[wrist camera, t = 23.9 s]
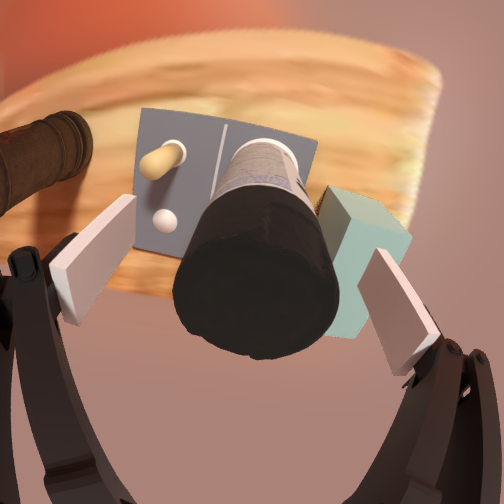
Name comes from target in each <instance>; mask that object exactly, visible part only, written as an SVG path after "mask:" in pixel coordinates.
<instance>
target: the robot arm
mask: <svg viewBox="0 0 504 504" xmlns="http://www.w3.org/2000/svg"><path fill="white" fill-rule="evenodd" d="M136 199H137V196H134V195H128V194H123V195H122V196H120V197H119V198H118V199H117V200H116V201H114V202H113V203H112V204H111V205H110V206H109V207H108V208H106V209H105V210H104V211H103V212H102V213H101V214H100V215H99V216H97V217H96V218H95V219H94V220H93V221H92V222H91V223H90V224H89V225H88V226H87V227H85V228H84V229H83V230H82V231H81V232H80V233H73V234H71V235H69V236H67V237H65V238H64V239H63V240H62V241H61V242H60V243H59V245H57V246H56V247H55V248H54V249H53V250H52V251H51V252H50V253H49V254H48V255H47V256H46V257H45V258H44V259H43V260H42V261H41V260H40V256H39V252H38V249H36V248H35V247H31V246H24V247H21V248H18V249H16V250H15V251H13V252H12V253H11V254H10V255H9V257H8V260H7V261H8V264H9V268H10V271H11V274H12V276H2V274H1V270H0V504H20V497H19V491H18V484H17V479H16V473H15V466H14V458H13V449H12V438H11V382H12V369H13V368H12V367H13V359H14V350H16V358H17V365H18V372H19V378H20V384H21V389H22V394H23V399H24V403H25V407H26V411H27V415H28V419H29V423H30V426H31V430H32V433H33V436H34V439H35V443H36V446H37V449H38V451H39V454H40V457H41V460H42V462H43V465H44V468H45V473H46V474H45V476H44V485H45V488H46V491H47V493H48V496H49V498H50V500H51V502H52V504H137V503H136V502H135V501H134V499H133V498H132V496H131V495H130V493H129V492H128V490H127V489H126V488H125V487H124V485H123V484H122V482H121V481H120V480H119V478H118V476H117V475H116V473H115V471H114V470H113V468H112V466H111V464H110V463H109V461H108V459H107V457H106V455H105V453H104V451H103V449H102V447H101V445H100V443H99V441H98V439H97V437H96V435H95V432H94V430H93V428H92V426H91V424H90V421H89V419H88V416H87V414H86V412H85V409H84V407H83V404H82V401H81V399H80V396H79V393H78V390H77V388H76V385H75V382H74V379H73V376H72V373H71V369H70V366H69V363H68V359H67V356H66V352H65V349H64V345H63V341H62V337H61V333H60V328H59V324H58V321H57V316H58V315H59V313H60V312H62V316H63V319H64V321H65V322H68V323H70V324H73V325H76V326H79V327H80V325H81V324H82V322H83V320H84V319H85V317H86V315H87V314H88V312H89V310H90V309H91V307H92V305H93V304H94V302H95V301H96V299H97V297H98V296H99V294H100V292H101V291H102V290H103V288H104V287H105V285H106V284H107V282H108V280H109V279H110V277H111V276H112V274H113V273H114V272H115V270H116V269H117V267H118V266H119V264H120V263H121V261H122V260H123V258H124V257H125V256H126V254H127V253H128V251H129V250H130V249H131V247H132V246H133V244H134V243H135V225H136ZM357 287H358V289H359V292H360V294H361V296H362V298H363V301H364V303H365V305H366V308H367V310H368V312H369V315H370V317H371V319H372V322H373V324H374V327H375V329H376V332H377V334H378V337H379V339H380V341H381V344H382V347H383V349H384V352H385V355H386V357H387V360H388V363H389V366H390V368H391V371H392V374H393V376H403V375H406V374H407V373H408V372H409V371H410V370H411V369H412V368H413V367H414V370H415V374H414V375H413V376H412V377H411V378H410V379H409V380H408V381H407V382H406V383H405V384H404V385H403V386H402V388H404V387H405V386H408V387H407V389H406V392H405V395H404V398H403V400H402V403H401V405H400V408H399V410H398V412H397V415H396V417H395V419H394V422H393V424H392V426H391V428H390V430H389V432H388V434H387V436H386V439H385V440H384V443H383V444H382V446H381V448H380V450H379V452H378V454H377V456H376V458H375V459H374V461H373V463H372V465H371V467H370V468H369V470H368V472H367V474H366V475H365V477H364V479H363V480H362V482H361V483H360V485H359V487H358V488H357V490H356V491H355V492H354V494H353V495H352V496H350V497H349V498H348V499H347V500H345V501H344V502H343V503H342V504H499V503H500V493H501V475H502V473H501V472H502V452H501V434H500V422H499V413H498V406H497V399H496V393H495V387H494V382H493V377H492V372H491V368H490V364H489V361H488V358H487V357H486V354H484V352H483V351H481V350H479V349H474V350H473V351H472V352H471V353H470V355H469V356H468V355H465V354H463V352H462V350H461V348H460V346H459V345H458V344H457V343H456V342H455V341H453V340H451V339H448V338H447V339H445V338H444V336H443V335H442V333H441V331H440V330H439V328H438V326H437V324H436V322H435V321H433V317H432V316H431V315H430V312H429V311H428V309H427V307H426V306H425V305H424V304H423V303H422V302H421V300H420V299H419V297H418V296H417V294H416V292H415V291H414V289H413V288H412V286H411V285H410V283H409V282H408V280H407V279H406V277H405V276H404V274H403V273H402V271H401V270H400V269H399V267H398V265H397V264H396V263H395V261H394V260H393V258H392V257H391V255H390V254H389V253H388V251H387V250H384V249H381V248H377V247H376V248H375V251H374V253H373V255H372V257H371V259H370V261H369V263H368V265H367V267H366V269H365V271H364V273H363V275H362V277H361V279H360V281H359V283H358V285H357ZM469 387H470V389H471V390H470V393H469V394H467V395H466V396H465V397H463V393H464V392H465V391H466V390H467V389H468V388H469Z"/></svg>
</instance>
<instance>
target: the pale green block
mask: <svg viewBox="0 0 504 504" xmlns="http://www.w3.org/2000/svg"><path fill="white" fill-rule="evenodd" d="M317 219H318V222H319V224H320V226H321V230H322V233H323V237H324V239H325V242H326V245H327V248H328V252H329V255H330V257H331V260H332V263H333V266H334V269H335V273H336V276H337V279H338V282H339V289H340V300H339V308H338V311H337V314H336V317H335V319H334V321H333V323H332V325H331V326H330V327H329V329H328V330H327V331H326V332H325V333H324V335H327V336H335V337H343V338H352V339H355V338H356V336H357V335H358V333H359V331H360V330H361V329H362V327H363V326H364V324H365V322H366V321H367V319H368V318H369V316H370V315H369V312H368V310H367V308H366V305H365V303H364V301H363V298H362V296H361V294H360V292H359V289H358V287H357V285H358V283H359V281H360V279H361V277H362V275H363V273H364V271H365V269H366V267H367V265H368V263H369V261H370V259H371V257H372V255H373V253H374V251H375V248H376V247H377V248H381V249H384V250H387V251H388V253H389V254H390V255H391V257H392V258H393V260H394V261H395V263H396V264H397V265H398V266H399V264H400V262H401V260H402V258H403V256H404V254H405V252H406V250H407V248H408V246H409V244H410V242H411V240H412V238H413V237H412V236H411V234H410V233H409V232H408V231H407V230H406V229H405V228H404V227H403V226H402V225H401V224H400V223H399V221H398V220H397V219H396V218H395V217H394V216H393V215H392V214H391V213H390V212H389V211H388V210H387V209H386V208H385V207H384V206H383V205H382V204H381V203H380V202H379V201H377V200H374V199H371V198H368V197H365V196H362V195H359V194H355V193H352V192H349V191H346V190H343V189H339V188H336V187H333V186H329V185H328V187H327V190H326V193H325V196H324V199H323V202H322V205H321V208H320V210H319V213H318V216H317Z"/></svg>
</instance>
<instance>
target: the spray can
mask: <svg viewBox="0 0 504 504" xmlns="http://www.w3.org/2000/svg"><path fill="white" fill-rule="evenodd" d="M172 293H173V299H174V306H175V309H176V312H177V314H178V316H179V318H180V320H181V323H182V324H183V325H184V326H185V328H186V329H187V331H188V332H189V333H191V334H193V335H197V336H201V337H203V338H204V339H205V340H206V341H207V342H209V343H211V344H213V345H215V346H216V347H218V348H220V349H223V350H227V351H230V352H233V353H236V354H239V355H249V356H250V358H252V359H255V360H264V359H271V360H272V359H277V358H280V357H284V356H288V355H291V354H293V353H296V352H299V351H301V350H303V349H305V348H307V347H309V346H310V345H312V344H313V343H314V342H316V341H317V340H318V339H319V338H321V337H322V336H323V335H324V333H325V332H326V331H327V330H328V329H329V327H330V326H331V325H332V323H333V321H334V319H335V317H336V314H337V311H338V308H339V300H340V289H339V282H338V279H337V276H336V273H335V269H334V266H333V263H332V260H331V257H330V255H329V252H328V248H327V245H326V242H325V239H324V237H323V233H322V230H321V226H320V224H319V222H318V219H317V216H316V214H315V212H314V209H313V207H312V203H311V200H310V199H309V197H308V195H307V192H306V190H305V188H304V185H303V183H302V181H301V178H300V176H299V174H298V172H297V169H296V167H295V165H294V163H293V160H292V159H291V157H290V156H289V154H288V153H287V152H286V151H285V150H284V149H282V148H281V147H279V146H277V145H275V144H272V143H268V142H255V143H251V144H249V145H247V146H245V147H243V148H242V149H240V150H239V151H238V152H237V153H236V154H235V156H234V157H233V159H232V161H231V162H230V164H229V166H228V168H227V170H226V171H225V173H224V175H223V177H222V179H221V181H220V183H219V184H218V186H217V188H216V190H215V192H214V194H213V196H212V198H211V200H210V201H209V203H208V205H207V207H206V209H205V211H204V213H203V214H202V215H201V218H200V220H199V222H198V224H197V227H196V229H195V231H194V233H193V236H192V238H191V240H190V243H189V245H188V247H187V250H186V252H185V254H184V256H183V259H182V261H181V263H180V266H179V268H178V271H177V273H176V276H175V280H174V285H173V290H172Z"/></svg>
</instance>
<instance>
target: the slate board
mask: <svg viewBox="0 0 504 504" xmlns="http://www.w3.org/2000/svg"><path fill="white" fill-rule="evenodd" d="M255 142H268V143H272V144H275V145H277V146H279V147H281V148H282V149H284V150H285V151H286V152H287V153H288V154H289V156H290V157H291V159H292V160H293V163H294V165H295V167H296V169H297V172H298V174H299V176H300V178H301V181H302V183H303V185H304V187H305V184H306V181H307V178H308V174H309V171H310V168H311V164H312V161H313V158H314V154H315V151H316V148H317V144H318V141H316V140H313V139H310V138H306V137H303V136H299V135H296V134H292V133H288V132H284V131H280V130H276V129H272V128H268V127H264V126H260V125H255V124H251V123H246V122H241V121H236V120H231V119H226V118H220V117H214V116H208V115H202V114H195V113H188V112H181V111H173V110H164V109H154V108H142V109H141V116H140V123H139V130H138V138H137V147H136V157H135V168H134V181H133V195H134V196H137V199H136V225H135V243H134V244H133V246H132V247H136V248H140V249H144V250H149V251H153V252H157V253H162V254H166V255H171V256H175V257H179V258H183V256H184V254H185V252H186V250H187V247H188V245H189V243H190V240H191V238H192V236H193V233H194V231H195V229H196V227H197V224H198V222H199V220H200V218H201V215H202V214H203V213H204V211H205V209H206V207H207V205H208V203H209V201H210V200H211V198H212V196H213V194H214V192H215V190H216V188H217V186H218V184H219V183H220V181H221V179H222V177H223V175H224V173H225V171H226V170H227V168H228V166H229V164H230V162H231V161H232V159H233V157H234V156H235V154H236V153H237V152H238V151H239V150H240V149H242V148H243V147H245V146H247V145H249V144H251V143H255Z"/></svg>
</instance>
